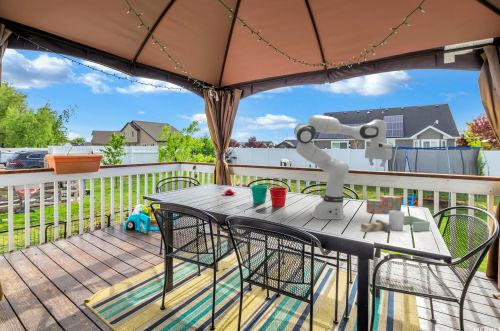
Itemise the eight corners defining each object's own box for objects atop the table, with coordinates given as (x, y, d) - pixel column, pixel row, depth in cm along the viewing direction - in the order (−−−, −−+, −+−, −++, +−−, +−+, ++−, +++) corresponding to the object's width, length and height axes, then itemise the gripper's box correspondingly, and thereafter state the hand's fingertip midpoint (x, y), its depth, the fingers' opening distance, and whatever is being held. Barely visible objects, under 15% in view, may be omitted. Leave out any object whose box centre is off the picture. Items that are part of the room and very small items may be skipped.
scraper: (368, 234, 134) (368, 226, 134) (357, 228, 143) (358, 221, 143) (389, 232, 137) (390, 224, 137) (378, 227, 146) (378, 219, 146)
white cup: (385, 226, 147) (386, 210, 146) (397, 226, 148) (398, 210, 147) (393, 231, 139) (394, 214, 138) (406, 230, 140) (408, 213, 139)
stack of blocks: (369, 213, 175) (370, 196, 174) (366, 211, 181) (366, 194, 180) (400, 214, 173) (401, 197, 172) (396, 212, 179) (397, 195, 178)
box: (413, 231, 138) (414, 223, 138) (396, 224, 151) (396, 216, 150) (429, 230, 141) (429, 221, 140) (410, 223, 153) (411, 215, 152)
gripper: (363, 144, 167) (361, 164, 168) (385, 144, 147) (384, 167, 148) (370, 144, 168) (369, 164, 170) (394, 145, 149) (393, 167, 150)
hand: (376, 166), depth 159 cm, fingers open, 8 cm apart
